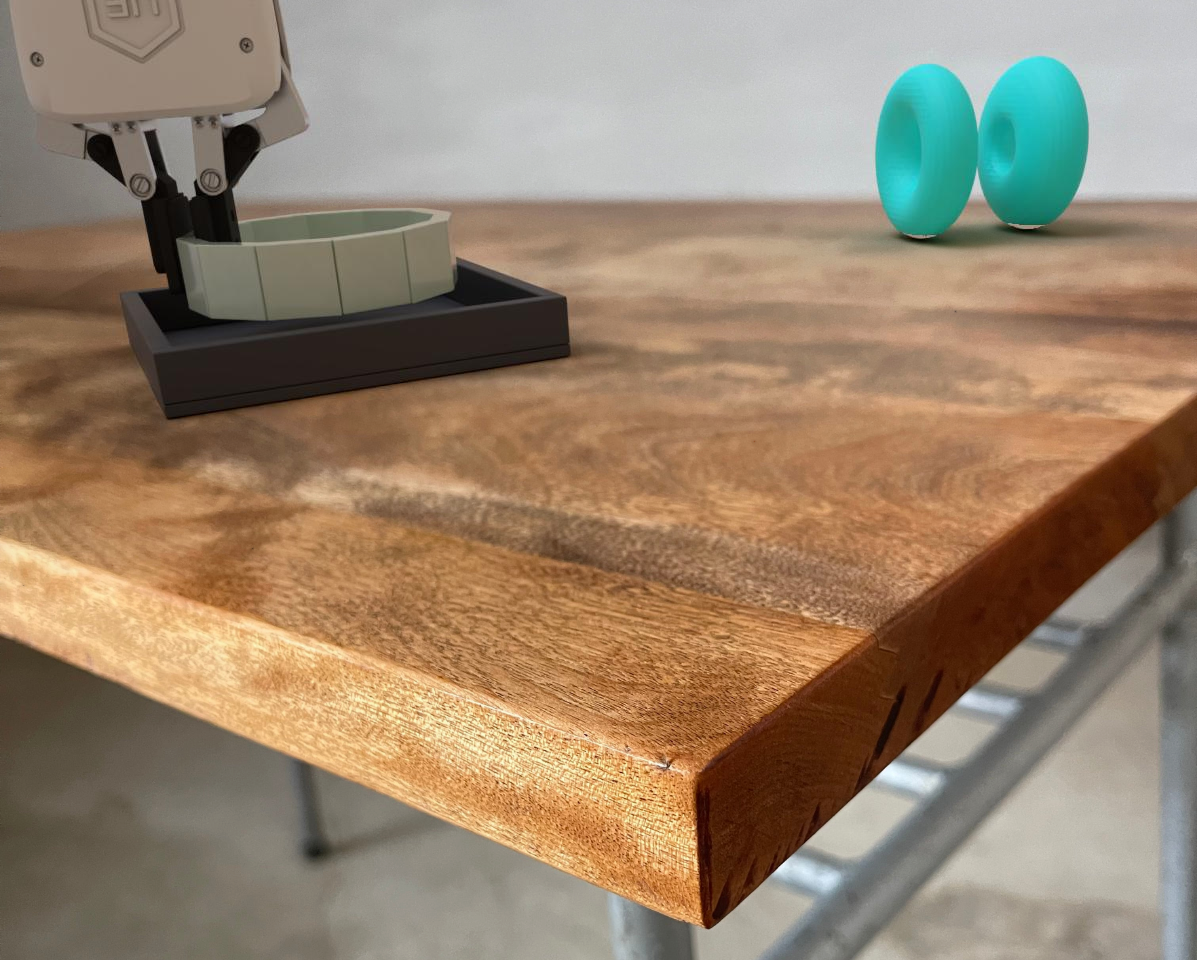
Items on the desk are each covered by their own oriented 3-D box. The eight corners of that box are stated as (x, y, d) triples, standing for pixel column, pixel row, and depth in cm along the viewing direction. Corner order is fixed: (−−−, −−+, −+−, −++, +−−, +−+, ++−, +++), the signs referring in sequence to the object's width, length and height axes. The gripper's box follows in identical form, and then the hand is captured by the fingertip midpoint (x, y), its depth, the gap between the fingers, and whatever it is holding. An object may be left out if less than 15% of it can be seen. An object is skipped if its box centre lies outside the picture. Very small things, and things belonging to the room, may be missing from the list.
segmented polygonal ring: (161, 328, 50) (146, 253, 49) (227, 282, 61) (216, 219, 59) (447, 308, 50) (439, 232, 49) (463, 265, 61) (456, 201, 60)
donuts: (865, 231, 81) (870, 65, 77) (1008, 219, 82) (1020, 55, 78) (930, 251, 72) (939, 64, 68) (1089, 236, 73) (1107, 53, 69)
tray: (129, 343, 61) (118, 292, 60) (452, 300, 66) (447, 252, 65) (166, 419, 47) (152, 353, 46) (571, 355, 52) (567, 296, 51)
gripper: (-134, -200, 44) (-2, 316, 52) (295, -228, 44) (365, 290, 52) (-43, -165, 51) (62, 286, 58) (327, -189, 51) (385, 263, 59)
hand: (204, 286), depth 55 cm, fingers closed on segmented polygonal ring, 1 cm apart
